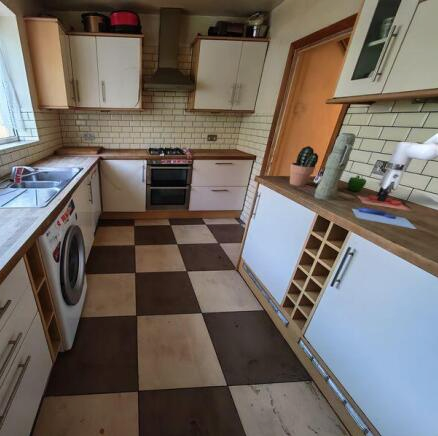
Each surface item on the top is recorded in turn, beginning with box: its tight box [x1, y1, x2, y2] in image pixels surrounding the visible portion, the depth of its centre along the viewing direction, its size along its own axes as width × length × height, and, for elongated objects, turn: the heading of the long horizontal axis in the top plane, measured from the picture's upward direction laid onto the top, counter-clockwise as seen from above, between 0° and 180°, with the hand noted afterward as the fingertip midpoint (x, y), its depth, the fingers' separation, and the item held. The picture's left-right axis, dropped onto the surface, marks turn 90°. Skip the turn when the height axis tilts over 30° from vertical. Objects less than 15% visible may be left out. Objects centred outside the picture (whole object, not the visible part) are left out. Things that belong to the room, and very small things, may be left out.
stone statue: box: [314, 132, 356, 201], centre depth 122 cm, size 9×12×35 cm
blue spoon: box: [357, 206, 397, 219], centre depth 109 cm, size 14×4×2 cm, turn 59°
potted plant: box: [289, 145, 319, 187], centre depth 149 cm, size 14×14×25 cm
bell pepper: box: [347, 175, 367, 192], centre depth 143 cm, size 8×8×10 cm
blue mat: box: [351, 208, 417, 230], centre depth 106 cm, size 20×13×1 cm, turn 59°
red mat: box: [357, 195, 414, 212], centre depth 124 cm, size 20×13×1 cm, turn 59°
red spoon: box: [367, 195, 403, 205], centre depth 123 cm, size 14×4×2 cm, turn 59°
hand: (379, 200), depth 124 cm, fingers closed on red spoon, 2 cm apart
